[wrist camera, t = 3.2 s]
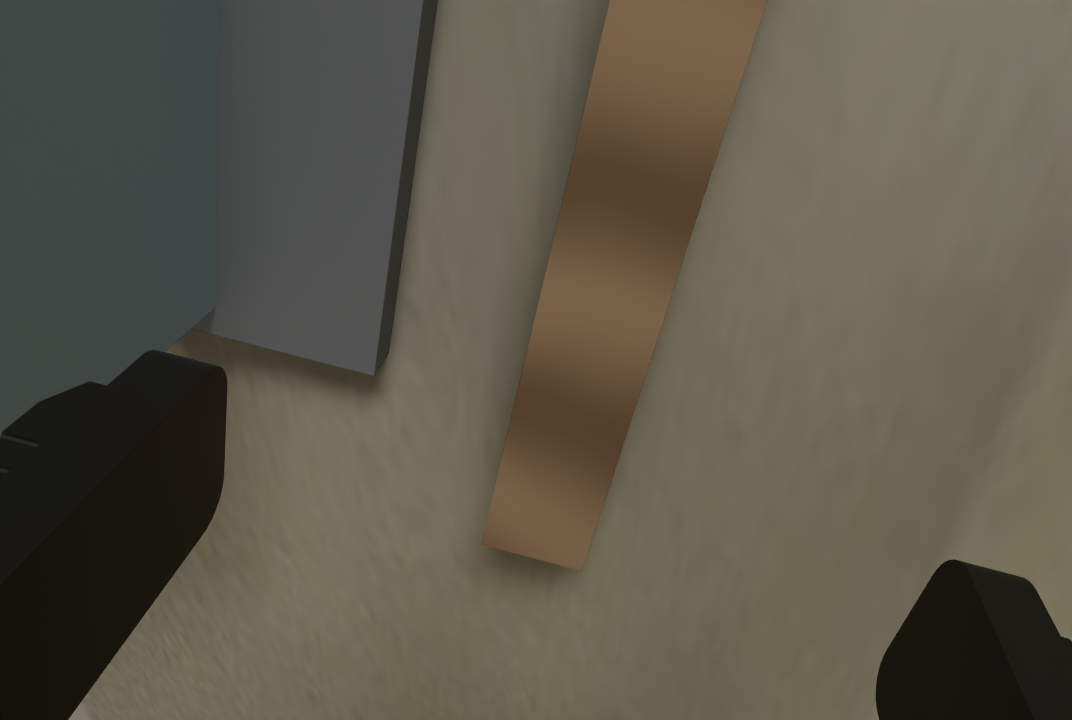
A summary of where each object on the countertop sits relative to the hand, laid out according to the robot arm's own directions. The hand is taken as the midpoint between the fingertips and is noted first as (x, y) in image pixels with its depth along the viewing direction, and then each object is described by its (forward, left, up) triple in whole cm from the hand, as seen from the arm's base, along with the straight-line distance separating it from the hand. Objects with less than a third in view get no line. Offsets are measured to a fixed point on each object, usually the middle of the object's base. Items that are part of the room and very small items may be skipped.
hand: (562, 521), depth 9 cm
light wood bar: (0, 0, -16) cm, 16 cm away
